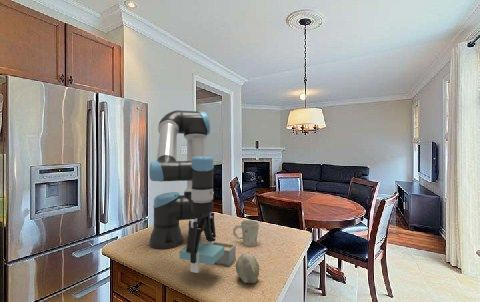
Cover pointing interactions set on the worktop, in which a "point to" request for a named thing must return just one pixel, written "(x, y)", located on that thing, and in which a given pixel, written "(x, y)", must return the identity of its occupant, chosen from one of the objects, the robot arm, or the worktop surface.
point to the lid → (204, 253)
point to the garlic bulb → (247, 268)
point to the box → (226, 254)
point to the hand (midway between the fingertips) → (202, 265)
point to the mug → (248, 232)
